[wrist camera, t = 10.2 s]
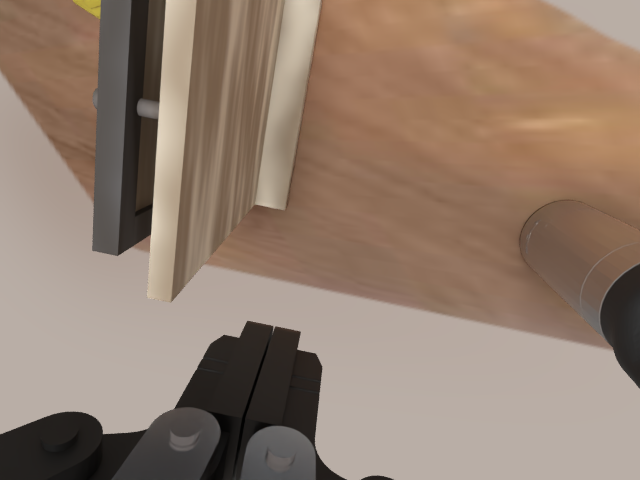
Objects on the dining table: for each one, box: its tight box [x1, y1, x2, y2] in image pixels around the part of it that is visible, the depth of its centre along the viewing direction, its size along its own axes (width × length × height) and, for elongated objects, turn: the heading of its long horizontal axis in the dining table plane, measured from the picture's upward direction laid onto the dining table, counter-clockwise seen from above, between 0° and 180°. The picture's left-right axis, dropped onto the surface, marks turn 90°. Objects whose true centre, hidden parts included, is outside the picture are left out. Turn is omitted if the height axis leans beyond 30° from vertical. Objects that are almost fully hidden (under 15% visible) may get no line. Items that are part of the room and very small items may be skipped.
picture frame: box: [92, 0, 166, 256], centre depth 30 cm, size 2×18×14 cm, turn 169°
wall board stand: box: [137, 0, 322, 302], centre depth 35 cm, size 12×22×26 cm, turn 169°
